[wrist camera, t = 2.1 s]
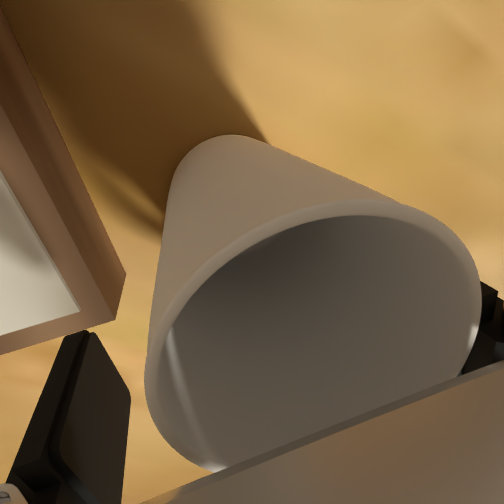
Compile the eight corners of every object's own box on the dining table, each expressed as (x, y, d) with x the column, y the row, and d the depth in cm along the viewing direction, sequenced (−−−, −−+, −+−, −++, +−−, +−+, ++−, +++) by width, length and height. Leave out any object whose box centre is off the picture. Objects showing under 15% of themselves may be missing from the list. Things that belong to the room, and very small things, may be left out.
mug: (162, 122, 15) (128, 193, 4) (302, 132, 16) (542, 203, 6) (167, 307, 19) (159, 579, 8) (278, 302, 20) (389, 525, 10)
